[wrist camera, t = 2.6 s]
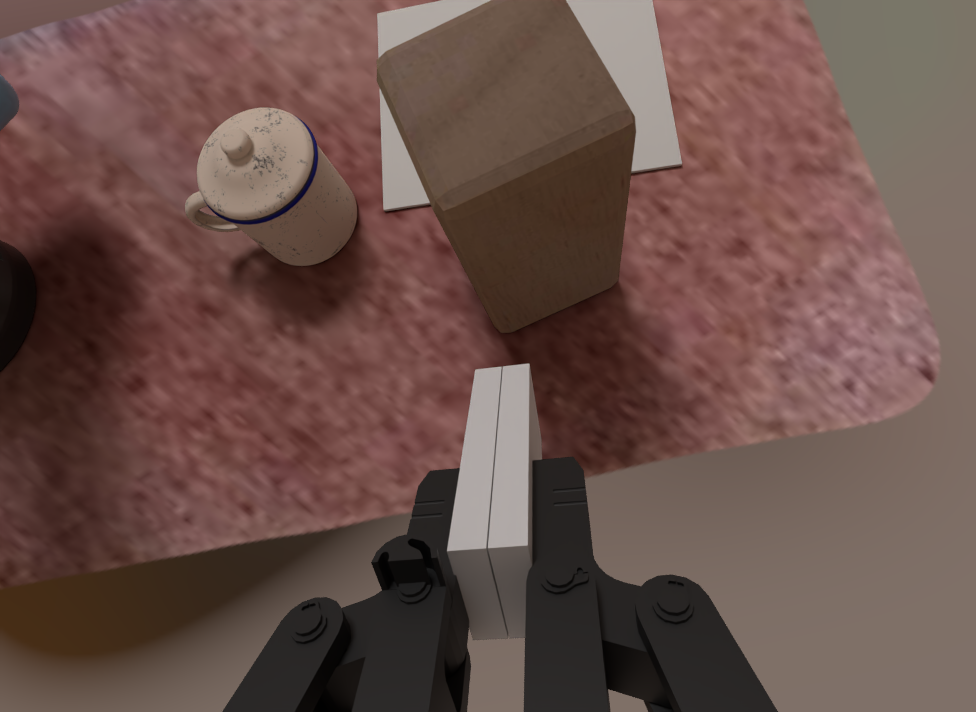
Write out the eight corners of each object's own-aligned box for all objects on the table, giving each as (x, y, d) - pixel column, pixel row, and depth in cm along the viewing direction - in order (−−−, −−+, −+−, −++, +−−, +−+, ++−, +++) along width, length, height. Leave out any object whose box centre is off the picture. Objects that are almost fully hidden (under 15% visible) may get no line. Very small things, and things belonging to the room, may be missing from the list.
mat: (384, 211, 50) (383, 209, 49) (378, 16, 55) (377, 13, 54) (681, 165, 46) (681, 163, 46) (644, -38, 51) (644, -41, 51)
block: (622, 286, 45) (647, 119, 25) (501, 341, 45) (435, 218, 26) (567, 181, 47) (551, -40, 28) (453, 233, 48) (362, 51, 29)
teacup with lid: (351, 159, 51) (285, 62, 40) (370, 252, 49) (305, 176, 38) (224, 200, 52) (125, 118, 41) (236, 293, 50) (135, 231, 39)
